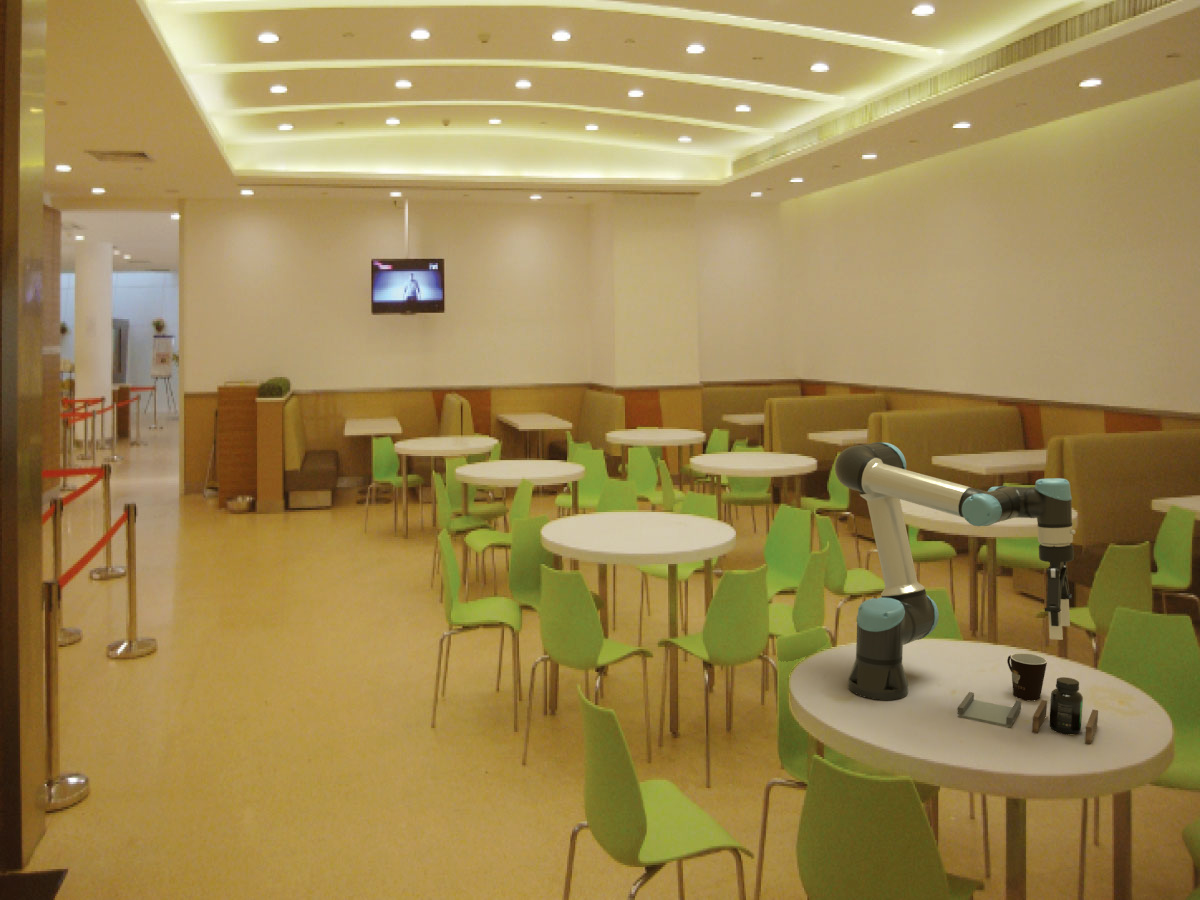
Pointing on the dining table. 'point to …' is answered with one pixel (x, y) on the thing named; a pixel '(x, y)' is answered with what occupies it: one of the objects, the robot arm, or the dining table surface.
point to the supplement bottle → (1066, 707)
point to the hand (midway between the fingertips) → (1060, 632)
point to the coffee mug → (1027, 675)
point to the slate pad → (988, 711)
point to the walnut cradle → (1041, 714)
